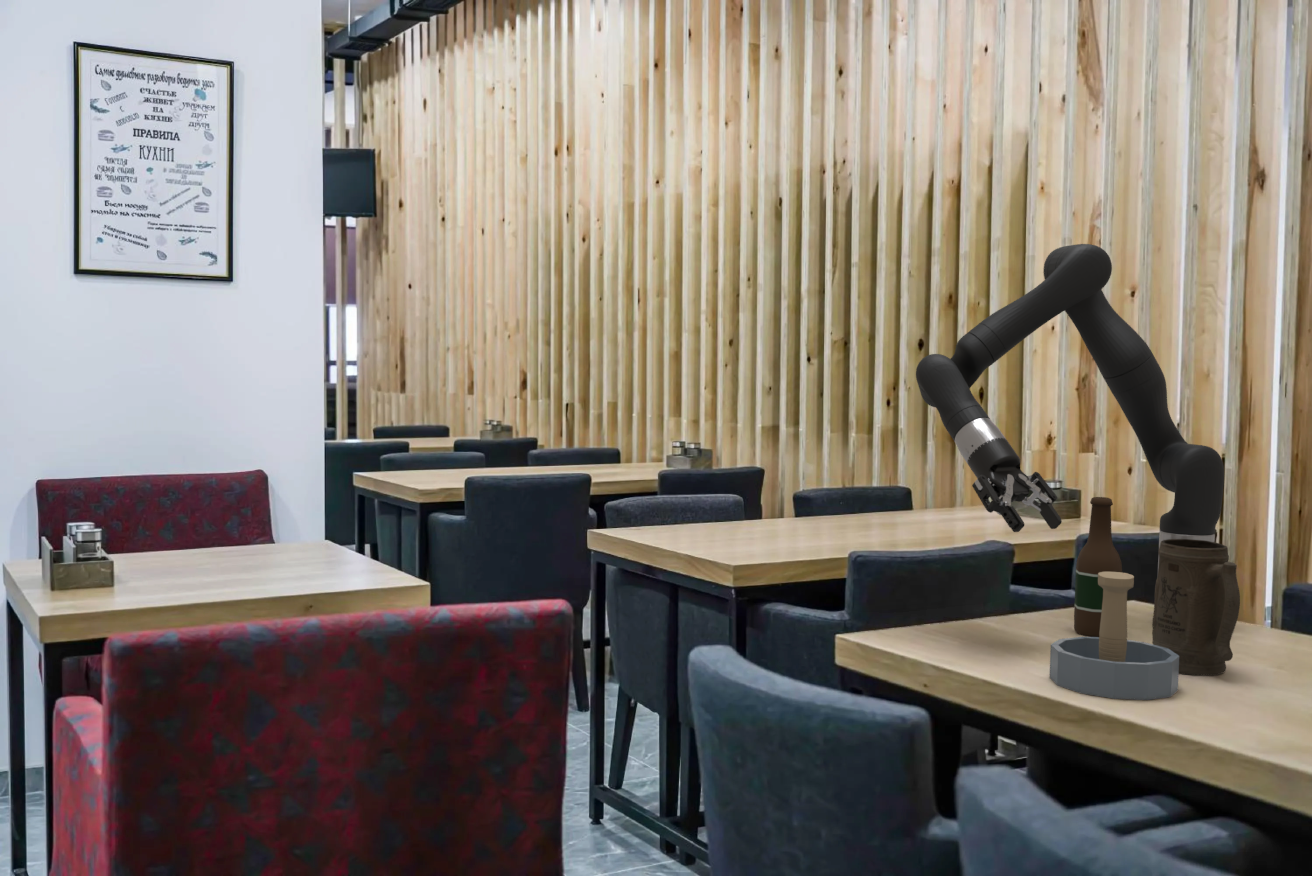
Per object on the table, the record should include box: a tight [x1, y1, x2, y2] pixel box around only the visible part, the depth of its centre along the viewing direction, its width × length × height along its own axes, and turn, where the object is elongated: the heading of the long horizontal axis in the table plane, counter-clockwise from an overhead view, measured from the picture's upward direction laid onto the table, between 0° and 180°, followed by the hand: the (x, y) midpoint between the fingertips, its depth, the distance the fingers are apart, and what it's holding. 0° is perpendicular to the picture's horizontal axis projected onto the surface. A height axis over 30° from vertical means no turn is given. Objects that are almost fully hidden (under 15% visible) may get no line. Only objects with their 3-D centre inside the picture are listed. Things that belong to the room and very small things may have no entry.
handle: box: [1098, 571, 1135, 662], centre depth 174 cm, size 5×6×15 cm
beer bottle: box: [1073, 496, 1123, 637], centre depth 208 cm, size 8×8×24 cm
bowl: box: [1049, 636, 1180, 701], centre depth 174 cm, size 17×17×5 cm
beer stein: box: [1151, 539, 1241, 676], centre depth 183 cm, size 15×11×20 cm
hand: (1038, 527), depth 190 cm, fingers open, 8 cm apart
